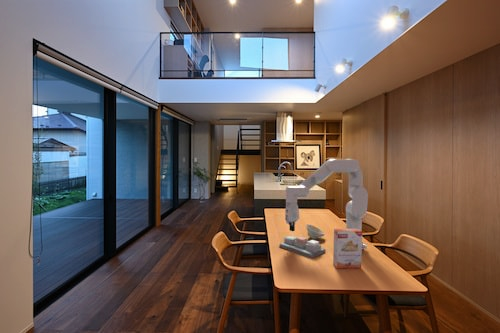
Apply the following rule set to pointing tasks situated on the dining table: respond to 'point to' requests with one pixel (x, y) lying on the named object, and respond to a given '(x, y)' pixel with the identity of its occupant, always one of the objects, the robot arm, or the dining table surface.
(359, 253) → the cracker box
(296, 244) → the button board
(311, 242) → the cream button
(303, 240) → the terracotta button
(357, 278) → the dining table surface
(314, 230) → the bowl
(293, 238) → the green button
